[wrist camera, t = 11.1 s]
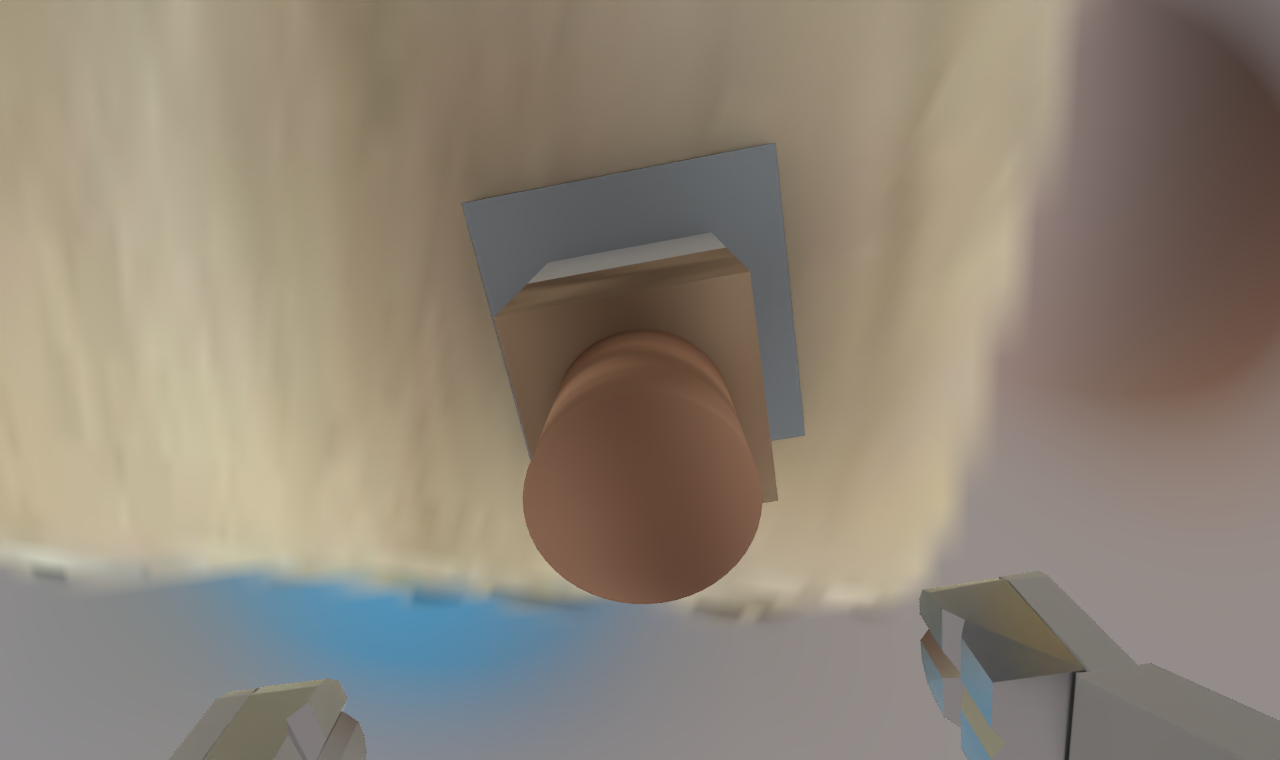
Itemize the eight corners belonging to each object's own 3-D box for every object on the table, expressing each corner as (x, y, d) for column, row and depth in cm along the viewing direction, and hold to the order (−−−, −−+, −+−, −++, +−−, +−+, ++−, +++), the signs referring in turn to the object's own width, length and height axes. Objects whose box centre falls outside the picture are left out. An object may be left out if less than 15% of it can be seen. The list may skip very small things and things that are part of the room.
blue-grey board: (540, 463, 31) (535, 478, 29) (471, 201, 27) (461, 203, 25) (797, 422, 30) (805, 435, 29) (768, 144, 26) (775, 142, 24)
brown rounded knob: (576, 502, 18) (553, 618, 14) (537, 346, 17) (496, 416, 12) (740, 476, 18) (774, 586, 13) (717, 314, 16) (746, 374, 12)
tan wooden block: (570, 461, 24) (551, 534, 19) (527, 283, 21) (493, 317, 17) (750, 432, 23) (777, 500, 18) (726, 247, 21) (749, 271, 16)
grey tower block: (582, 411, 28) (570, 461, 24) (548, 262, 26) (527, 283, 21) (732, 386, 28) (750, 432, 23) (711, 232, 26) (726, 247, 21)
